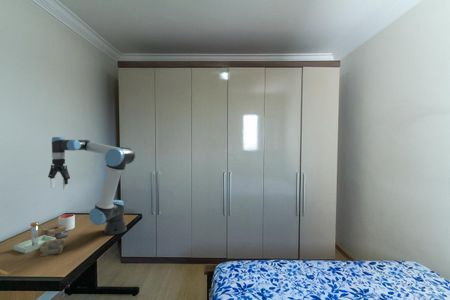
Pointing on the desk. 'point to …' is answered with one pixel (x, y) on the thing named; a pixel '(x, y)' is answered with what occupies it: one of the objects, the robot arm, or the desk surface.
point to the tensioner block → (55, 232)
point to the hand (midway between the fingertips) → (59, 188)
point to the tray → (27, 245)
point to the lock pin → (34, 233)
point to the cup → (67, 221)
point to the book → (52, 247)
